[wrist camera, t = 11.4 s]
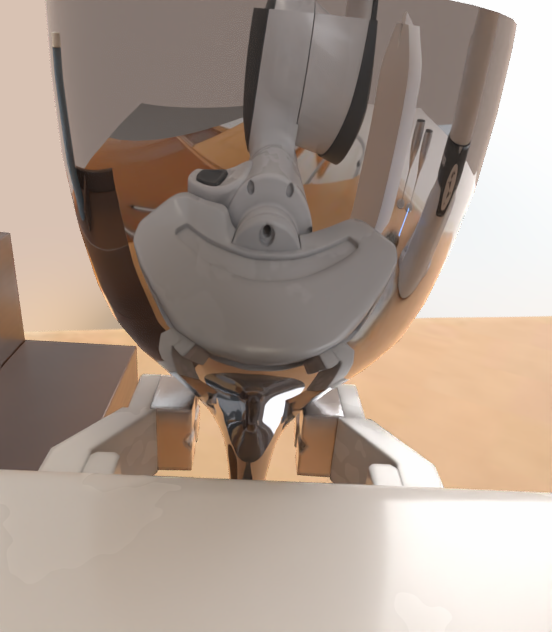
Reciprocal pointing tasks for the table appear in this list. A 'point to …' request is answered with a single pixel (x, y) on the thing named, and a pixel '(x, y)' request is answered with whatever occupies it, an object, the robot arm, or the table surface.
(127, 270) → the wine glass
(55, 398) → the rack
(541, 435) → the table surface
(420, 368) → the table surface
